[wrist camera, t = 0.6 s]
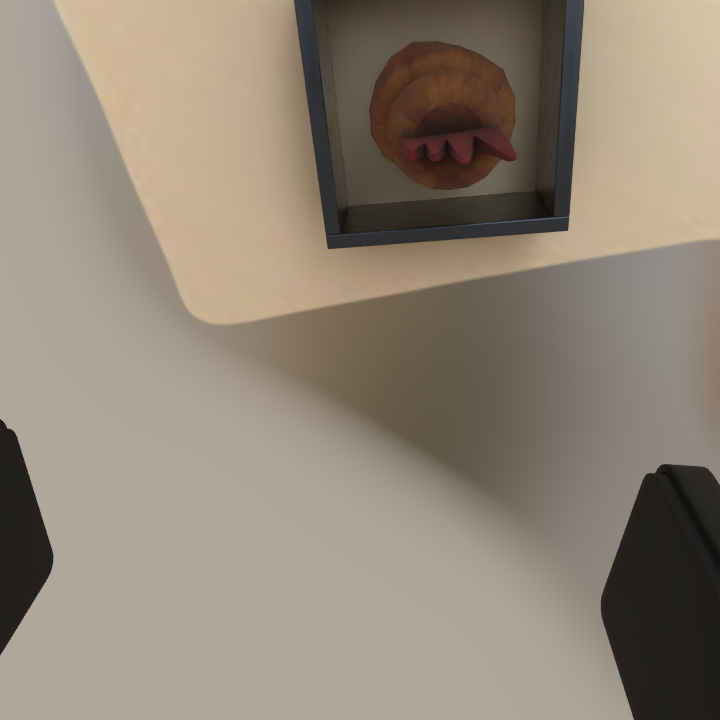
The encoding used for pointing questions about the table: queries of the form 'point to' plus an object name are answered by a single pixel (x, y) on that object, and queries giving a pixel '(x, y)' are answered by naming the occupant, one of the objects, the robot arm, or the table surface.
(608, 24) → the table surface
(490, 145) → the wooden figurine
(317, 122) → the box
